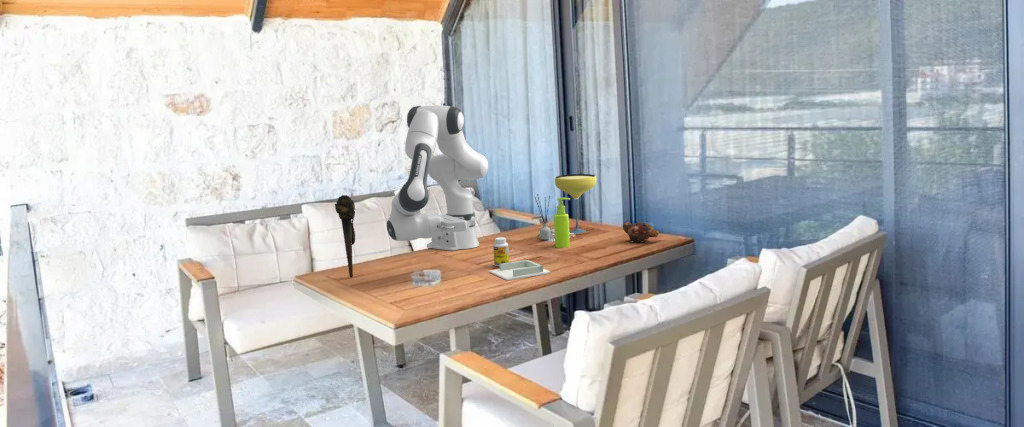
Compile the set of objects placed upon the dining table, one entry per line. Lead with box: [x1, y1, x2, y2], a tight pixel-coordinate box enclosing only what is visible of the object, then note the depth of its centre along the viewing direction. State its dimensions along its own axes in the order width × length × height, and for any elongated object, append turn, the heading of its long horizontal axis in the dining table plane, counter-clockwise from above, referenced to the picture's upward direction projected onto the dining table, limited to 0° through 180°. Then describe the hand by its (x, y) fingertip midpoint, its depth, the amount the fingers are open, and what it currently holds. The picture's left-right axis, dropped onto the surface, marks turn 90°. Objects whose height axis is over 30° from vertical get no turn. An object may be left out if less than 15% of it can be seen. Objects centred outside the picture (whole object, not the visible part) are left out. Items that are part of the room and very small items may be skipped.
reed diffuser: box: [534, 193, 552, 240], centre depth 341 cm, size 10×7×20 cm
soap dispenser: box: [553, 197, 571, 249], centre depth 325 cm, size 6×7×20 cm
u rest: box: [488, 259, 552, 281], centre depth 285 cm, size 17×15×3 cm
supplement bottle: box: [492, 237, 510, 268], centre depth 298 cm, size 6×6×10 cm
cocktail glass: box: [554, 173, 597, 234], centre depth 353 cm, size 18×18×25 cm
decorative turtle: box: [622, 221, 659, 242], centre depth 329 cm, size 10×15×8 cm, turn 64°
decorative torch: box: [334, 194, 356, 278], centre depth 289 cm, size 7×7×30 cm
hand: (468, 220), depth 290 cm, fingers open, 8 cm apart
